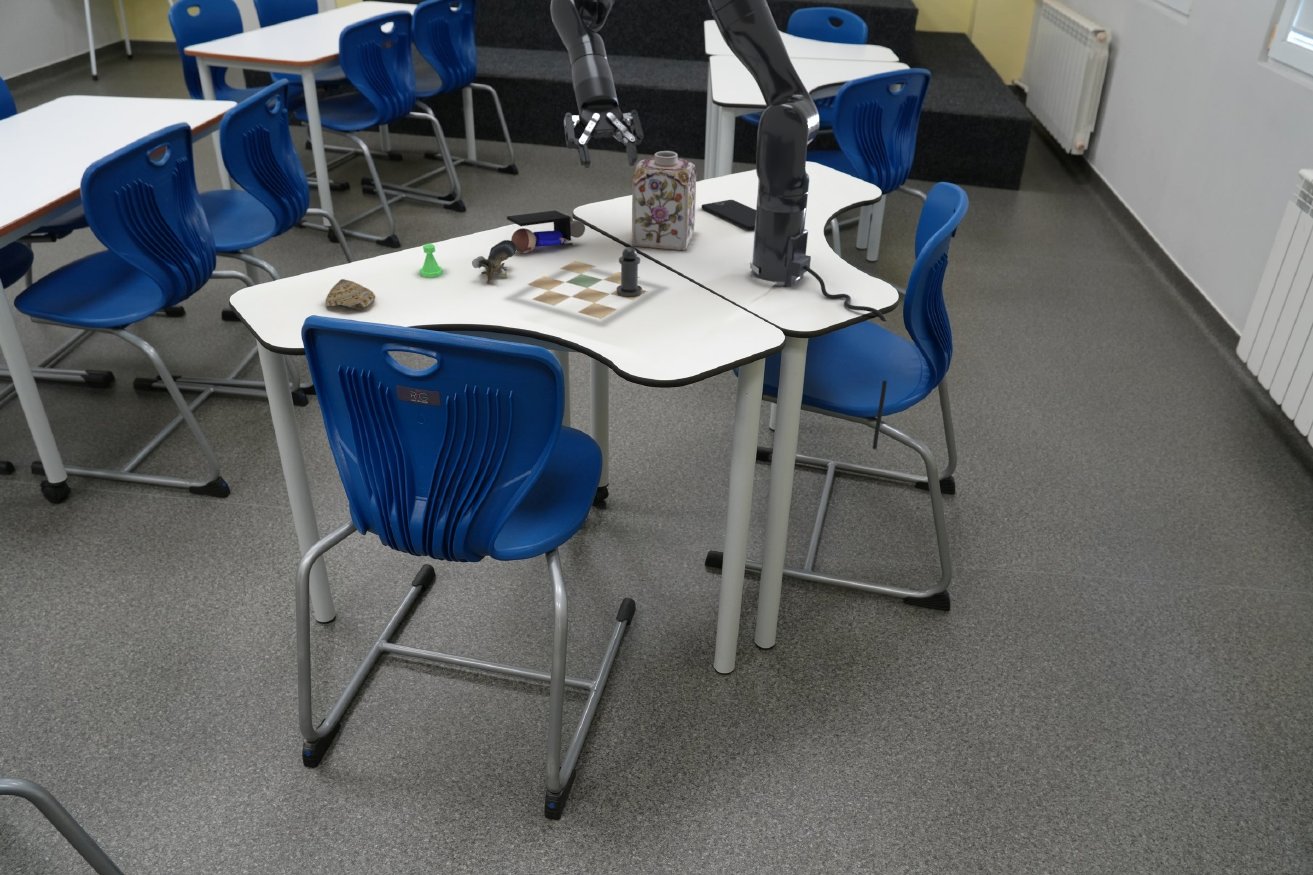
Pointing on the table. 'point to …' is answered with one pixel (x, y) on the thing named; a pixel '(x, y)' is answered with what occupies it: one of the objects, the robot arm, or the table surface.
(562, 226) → the figurine character
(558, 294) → the chess board
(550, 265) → the table surface
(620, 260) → the black chess piece
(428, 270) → the game piece
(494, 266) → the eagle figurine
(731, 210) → the cell phone
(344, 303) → the brown rock
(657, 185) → the decorative jar
